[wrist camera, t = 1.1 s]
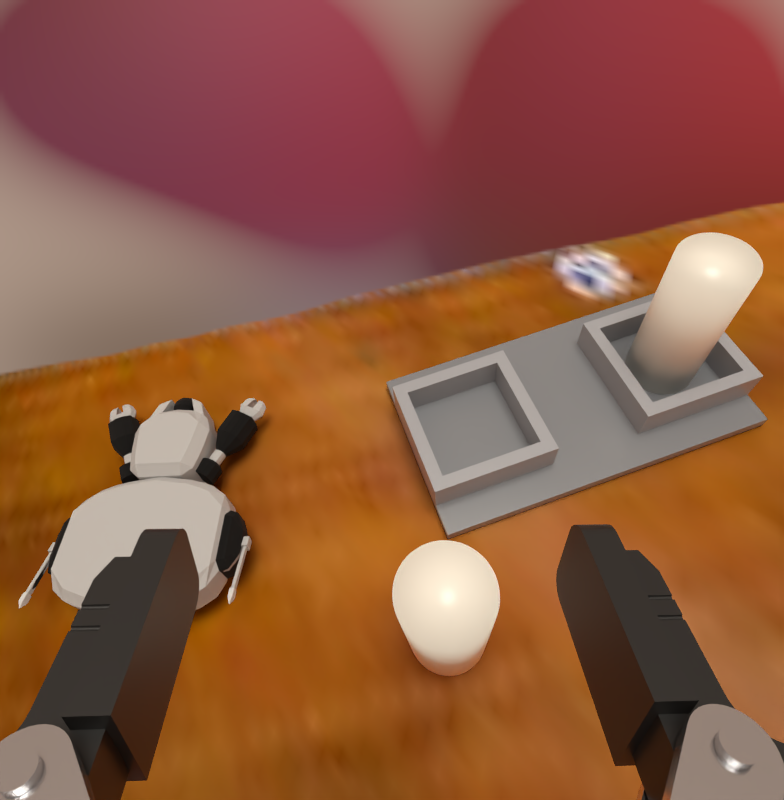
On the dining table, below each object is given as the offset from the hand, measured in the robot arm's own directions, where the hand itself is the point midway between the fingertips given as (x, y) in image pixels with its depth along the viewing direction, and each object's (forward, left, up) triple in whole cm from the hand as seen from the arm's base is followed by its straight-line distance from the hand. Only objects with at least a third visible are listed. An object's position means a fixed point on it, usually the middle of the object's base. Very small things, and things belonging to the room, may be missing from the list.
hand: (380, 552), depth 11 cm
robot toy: (+12, -14, -22) cm, 29 cm away
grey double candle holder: (-15, -12, -22) cm, 29 cm away
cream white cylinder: (-2, -1, -22) cm, 22 cm away
